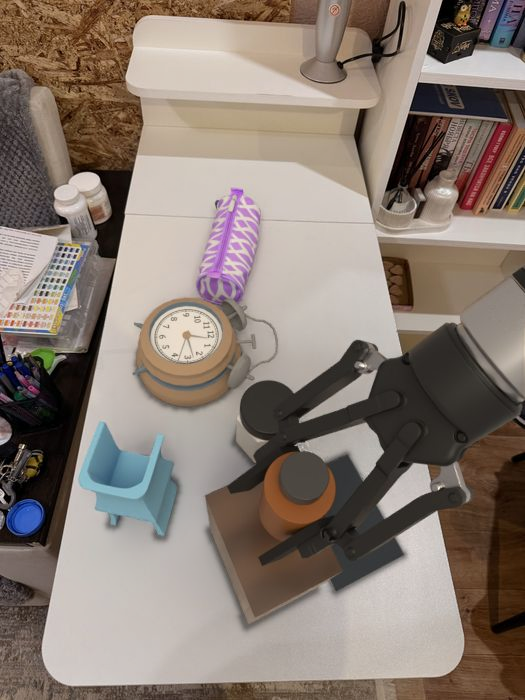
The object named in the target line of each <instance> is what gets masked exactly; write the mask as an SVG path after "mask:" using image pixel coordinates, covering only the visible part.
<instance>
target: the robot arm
mask: <svg viewBox="0 0 525 700" xmlns="http://www.w3.org/2000/svg"><path fill="white" fill-rule="evenodd" d="M459 322H460V323H458V324H457V323H455V322H445V323H443V324H442V325H441V326H439V327H438V328H437V329H435V330H434V331H433V332H431V333H430V334H429V335H427V336H426V337H424V338H423V339H422V340H420V341H419V342H418V343H417V344H415V345H414V346H412V347H410V349H408V350H407V351H406V352H405V353H403V354H401V355H399V356H396V357H390V358H387V357H385V355H383V354H382V353H381V352H380V351H379V348H378V346H377V344H375V343H372V342H370V341H369V342H368V341H364V340H363V339H355V340H353V341H352V342H351V343H350V345H349V346H348V348H347V349H346V351H344V354H343V355H342V356H341V358H340V359H339V360H338V361H336V363H335V364H333V365H332V366H330V367H329V368H327V369H326V370H325V371H323V372H322V373H321V374H318V375H317V376H316V377H315V378H313V379H312V380H310V381H309V382H308V383H306V385H304V386H302V387H301V388H299V389H298V390H297V391H295V392H293V393H294V394H293V395H291V396H290V397H289V398H287V399H286V400H285V401H283V402H282V403H280V404H279V405H278V406H276V407H275V408H274V410H273V417H274V418H275V419H276V420H277V422H278V433H277V434H276V436H275V437H273V438H272V439H271V440H269V441H268V442H267V443H265V444H264V445H263V446H261V447H260V448H259V449H258V450H256V452H255V453H254V455H253V457H254V459H255V461H256V463H255V464H254V465H253V466H252V467H250V468H249V469H247V470H246V471H245V472H243V473H242V474H241V475H240V476H238V477H237V478H236V479H234V480H233V481H232V482H230V483H229V484H227V485H228V486H227V485H226V486H227V487H228V489H229V492H230V494H233V493H239V492H244V491H250V490H251V489H253V488H254V487H256V486H257V485H258V484H260V483H261V482H263V481H264V479H265V475H266V472H267V470H268V468H269V467H270V465H271V464H272V463H273V462H274V461H275V460H276V459H277V458H278V457H280V456H282V455H284V454H286V453H290V452H299V451H301V450H300V447H299V445H298V444H305V443H306V442H308V441H311V440H314V439H317V438H321V437H324V436H327V435H330V434H331V435H332V434H334V433H336V432H340V431H343V430H347V429H349V428H352V427H356V426H359V425H363V424H367V426H368V428H369V429H370V430H371V431H372V432H373V433H375V434H376V436H377V439H378V442H379V445H380V448H381V449H382V451H383V453H382V454H381V455H380V457H379V458H378V459H377V461H376V462H375V466H374V467H373V468H372V470H371V471H370V472H369V474H368V475H367V476H366V477H365V478H364V479H363V480H362V481H363V482H362V483H361V485H360V486H359V487H358V488H357V490H356V491H355V492H354V493H353V495H352V496H351V497H350V498H349V500H348V501H347V502H346V503H345V504H344V506H343V507H342V508H341V509H340V511H339V512H338V513H337V514H336V516H335V517H334V515H333V516H329V517H326V518H323V519H319V520H317V521H315V522H313V523H311V524H310V525H308V526H307V527H305V528H303V529H302V530H300V531H299V532H297V533H296V534H294V535H292V536H291V537H289V538H288V539H286V540H285V541H283V542H281V543H280V544H278V545H277V546H275V547H273V548H272V549H270V550H269V551H267V552H266V553H264V554H262V555H261V556H259V557H258V558H259V560H260V563H261V565H262V566H264V565H267V564H269V563H272V562H275V561H277V560H280V559H282V558H284V557H285V556H287V555H289V554H290V553H292V552H294V551H295V550H297V549H298V551H299V553H300V555H301V557H302V558H309V557H311V556H314V555H316V554H318V553H320V552H322V551H323V550H325V549H327V548H328V547H330V546H332V545H334V544H337V545H339V546H340V547H341V548H342V549H343V550H344V554H345V556H346V558H347V559H348V560H350V561H355V560H357V559H359V558H361V557H363V556H366V555H368V554H370V553H371V552H373V551H375V550H376V549H378V548H379V547H381V546H382V545H384V544H386V543H387V542H389V541H390V540H392V539H393V538H395V539H396V537H398V536H399V535H401V534H403V533H405V532H407V531H408V530H409V529H411V528H412V527H414V526H415V525H417V524H419V523H421V522H422V521H423V520H425V519H426V518H428V517H430V516H431V515H433V514H435V513H436V512H437V511H443V510H448V509H449V510H450V509H455V508H459V507H461V506H463V505H465V504H467V503H470V502H472V500H473V499H474V496H475V493H474V490H473V488H472V487H470V486H469V485H467V484H466V483H465V479H464V477H463V473H462V470H461V466H460V464H459V462H460V461H462V459H463V458H464V455H465V454H466V452H467V450H468V449H469V448H470V447H471V446H472V445H474V444H475V443H476V442H479V441H480V440H482V439H483V438H485V437H486V436H488V435H489V434H491V433H493V432H495V431H497V430H498V429H499V428H501V427H503V426H504V425H506V424H507V423H509V422H511V421H512V420H514V419H516V418H518V417H519V416H521V414H522V410H523V402H524V401H525V265H523V266H522V267H520V268H518V269H517V270H515V271H514V272H513V273H511V275H510V274H509V275H508V276H506V277H505V278H504V279H502V280H501V281H500V282H499V283H497V284H495V285H494V286H493V287H492V288H490V289H489V290H487V291H486V292H485V293H483V294H482V295H481V296H480V297H478V298H477V299H474V301H472V302H471V303H470V304H468V305H467V306H465V308H463V309H461V311H459ZM374 371H376V374H375V376H374V379H373V382H372V385H371V389H370V391H369V394H368V397H367V398H365V399H363V400H360V401H357V402H354V403H351V404H348V405H346V406H344V407H343V408H339V409H337V410H334V411H331V412H328V413H325V414H321V415H318V416H317V417H312V418H311V419H307V420H304V421H302V422H300V419H301V418H303V417H304V416H305V415H307V414H308V413H310V412H311V411H313V410H314V409H316V408H317V407H319V406H320V405H322V404H323V403H324V402H326V401H327V400H329V399H330V398H332V397H333V396H335V395H336V394H337V393H339V392H340V391H342V390H343V389H345V388H346V387H347V386H349V385H351V384H352V383H354V382H355V381H356V380H358V379H359V378H360V377H361V376H362V375H370V374H372V373H373V372H374ZM414 464H416V465H417V464H418V465H426V466H435V467H439V468H440V471H439V474H438V475H437V477H435V478H433V479H432V480H431V481H430V483H429V489H430V491H429V492H426V493H424V494H421V495H419V496H418V497H416V498H415V499H413V500H411V501H409V502H408V503H407V504H405V505H404V506H402V507H401V508H399V509H398V510H396V511H394V512H393V513H391V514H390V515H389V516H387V517H386V518H384V520H383V521H381V522H380V523H378V524H377V525H375V526H374V527H372V528H371V529H369V530H368V531H366V532H365V533H363V534H362V535H361V534H360V533H359V532H358V531H357V530H356V529H357V528H358V527H359V525H360V524H361V523H362V522H363V521H364V519H365V518H366V517H367V516H368V515H369V513H370V512H371V511H372V510H373V509H374V507H375V506H377V505H379V503H380V502H381V500H382V499H383V498H384V497H385V496H386V495H387V493H388V492H389V491H390V490H391V489H392V487H393V486H394V485H395V484H396V482H397V481H398V480H399V479H400V478H401V477H402V476H403V475H404V474H405V473H407V471H409V469H411V467H412V466H413V465H414Z"/></svg>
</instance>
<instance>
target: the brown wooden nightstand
mask: <svg viewBox="0 0 525 700" xmlns="http://www.w3.org/2000/svg"><path fill="white" fill-rule="evenodd" d="M263 484H264V481H263V482H261V483H260V484H258V485H257V486H256V487H254V488H253V489H251V490H250V491H244V492H239V493H233V494H230V492H229V489H228V487H227V486H228V485H229V484H227V485H225V486H222V487H220V488H218V489H216V490H214V491H211V492H209V493H207V494H205V495H204V500H205V505H206V512H207V517H208V524H209V531H210V533H211V536H212V538H213V540H214V543H215V545H216V548H217V550H218V553H219V555H220V558H221V560H222V563H223V565H224V568H225V570H226V573H227V575H228V578H229V579H230V583H231V585H232V587H233V590H234V592H235V595H236V598H237V601H238V602H239V605H240V607H241V610H242V612H243V615H244V617H245V619H246V622H247V624H248V625H250V624H252V623H254V622H256V621H258V620H259V619H262V618H263V617H265V616H267V615H269V614H271V613H273V612H274V611H276V610H278V609H280V608H282V607H284V606H286V605H287V604H289V603H292V602H294V601H295V600H297V599H299V598H301V597H303V596H304V595H306V594H308V593H310V592H312V591H315V590H316V589H317V588H319V587H320V586H322V585H324V584H325V583H327V582H328V581H331V578H333V577H335V576H336V575H338V574H339V573H341V572H342V571H343V570H342V568H341V566H340V564H339V562H338V560H337V558H336V556H335V554H334V552H333V550H332V548H331V546H330V547H328V548H327V549H325V550H323V551H322V552H320V553H318V554H316V555H314V556H311V557H309V558H302V557H301V555H300V553H299V551H298V549H297V550H295V551H294V552H292V553H290V554H289V555H287V556H285V557H284V558H282V559H280V560H277V561H275V562H272V563H269V564H267V565H264V566H262V565H261V563H260V560H259V558H258V557H259V556H261V555H262V554H264V553H266V552H267V551H269V550H270V549H272V548H273V547H275V546H277V545H278V544H280V543H281V542H283V541H281V540H278V539H276V538H274V537H273V536H272V535H270V534H269V533H268V532H267V531H266V529H265V528H264V526H263V524H262V522H261V520H260V516H259V504H260V498H261V493H262V489H263Z"/></svg>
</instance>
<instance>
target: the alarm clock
mask: <svg viewBox="0 0 525 700" xmlns="http://www.w3.org/2000/svg"><path fill="white" fill-rule="evenodd" d="M220 306H221V309H220V308H219V307H218V305H216V304H214V303H211V302H208V301H206V300H205V299H201V298H198V297H180V298H174V299H171V300H168V301H166V302H164V303H161V304H160V305H158V306H156V308H154V309H152V311H151V312H150V313H149V314H148V315H147V316H146V317H145V320H144V321H143V323H139V322H133V326H135V327H137V328H138V329H140V333H139V338H138V341H137V352H136V356H135V357H136V364H137V365H136V366H137V369H136V370H134V371H133V372H132V373H131V374H132V376H136V375H139V376H140V378H141V380H142V382H143V385H144V386H145V388H146V389H148V390H147V391H149V392H150V393H151V394H152V396H154V397H156V398H158V399H159V400H160V401H163V402H164V403H167V404H170V405H173V406H176V407H188V408H189V407H190V408H193V407H198V406H203V405H206V404H209V403H211V402H213V401H216V400H217V399H220V397H222V396H223V395H224V394H225V393H227V392H228V391H229V389H231V390H234V389H237V388H240V387H241V385H242V384H243V383H244V382H245V381H246V380H248V381H251V382H254V381H255V380H256V378H255V376H253V374H252V375H251V374H250V373H252V371H253V370H254V369H256V368H257V367H258V366H260V365H262V364H266V363H270V362H271V361H272V360H274V359H275V358H276V356H277V355H278V350H279V340H278V339H279V338H278V335H277V332H276V329H275V327H274V325H273V324H272V323H271V322H269V321H267V320H266V319H257V318H255V317H252V316H250V315H248V314H247V313H246V312H245V311H246V310H247V309H248V305H246V304H245V305H243V306H241V305H240V304H239V302H238V303H236V302H235V301H234V300H231V299H225V300H223V301H222V304H221V305H220ZM247 319H249V320H251V321H253V322H258V323H264V324H265V325H267V326H269V328H270V329H271V330H272V333H273V336H274V340H275V350H274V352H273V355H272V356H270V358H268V359H265V360H262V361H259V362H258V363H256V364H254V365H252V360H251V357H250V356H249V355H248V354H247V353H243V354H241V353H242V351H241V346H240V344H241V345H242V344H251V348H252V349H253V350H256V349H257V342H256V335H255V333H251V334H250V338H251V339H246V340H245V339H243V340H239V338H238V337H237V335H236V334H235V330H237V331H238V332H242V331H244V330H245V329H246V327H247V324H248V320H247ZM234 329H235V330H234ZM251 366H252V367H251Z"/></svg>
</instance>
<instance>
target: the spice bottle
mask: <svg viewBox="0 0 525 700" xmlns="http://www.w3.org/2000/svg"><path fill="white" fill-rule="evenodd" d="M326 464H327V463H326V462H325V461H324V460H323V458H321V457H320V456H319V455H317V454H315V453H314V452H310V451H305V450H300V451H299V452H290V453H286V454H284V455H282V456H280V457H278V458H277V459H276V460H275V461H274V462H273V463H272V464H271V465H270V467H269V468H268V470H267V472H266V475H265V479H264V484H263V489H262V493H261V498H260V504H259V516H260V520H261V522H262V524H263V526H264V528H265V529H266V531H267V532H268V533H269V534H270V535H272V536H273V537H274V538H276V539H278V540H281V541H285V540H286V539H288V538H289V537H291V536H292V535H294V534H296V533H297V532H299V531H300V530H302V529H303V528H305V527H307V526H308V525H310V524H311V523H313V522H315V521H317V520H319V519H323V518H324V516H325V515H326V514H327V512H328V511H329V509H330V508H331V506H332V504H333V502H334V499H335V493H336V485H335V480H334V477H333V474H332V472H331V470H330V469H329V467H328V466H327V465H326Z"/></svg>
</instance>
